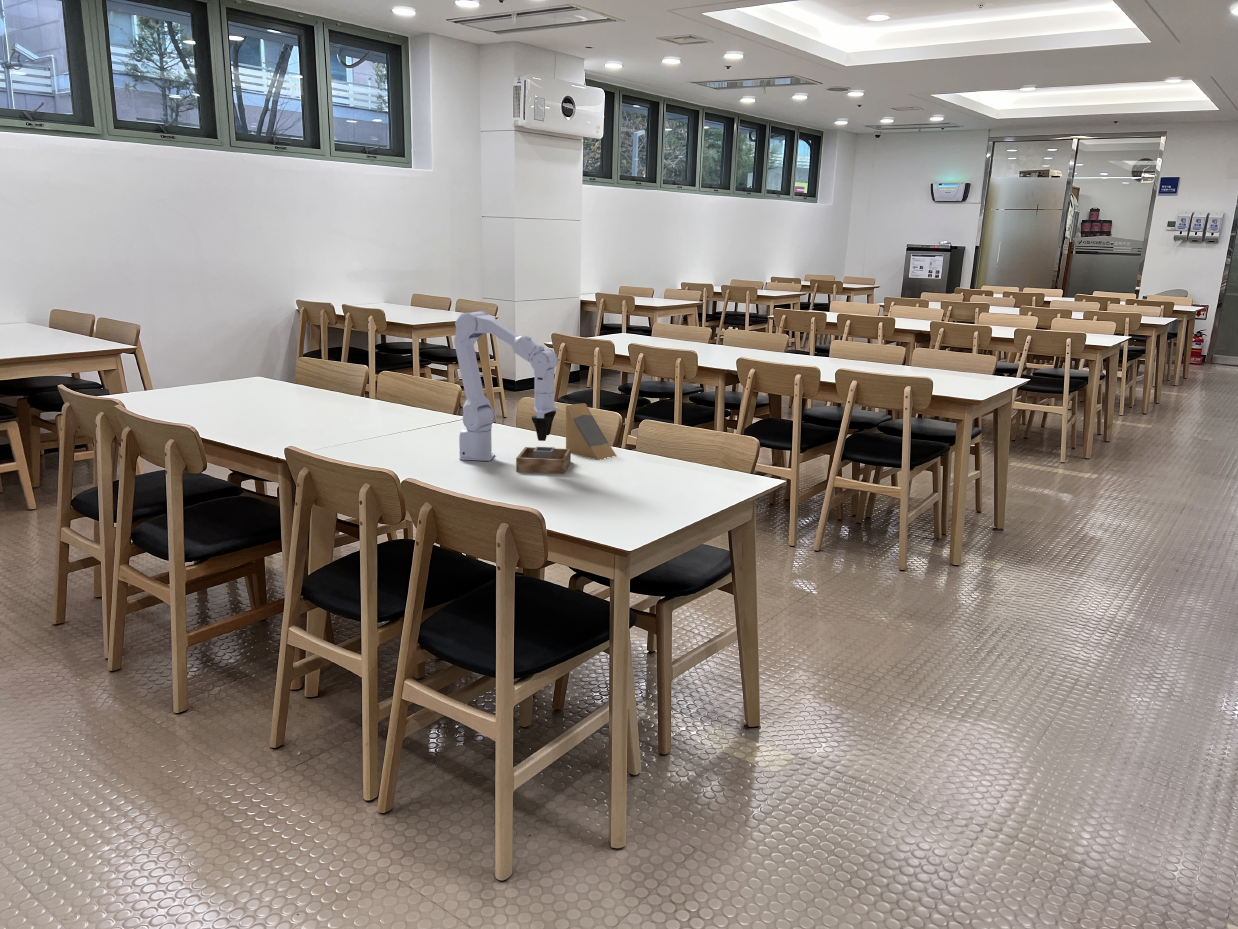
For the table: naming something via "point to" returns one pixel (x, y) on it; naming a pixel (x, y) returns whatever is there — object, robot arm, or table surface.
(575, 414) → the sandwich container
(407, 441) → the table surface
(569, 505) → the table surface
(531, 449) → the large crate
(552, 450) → the small crate
